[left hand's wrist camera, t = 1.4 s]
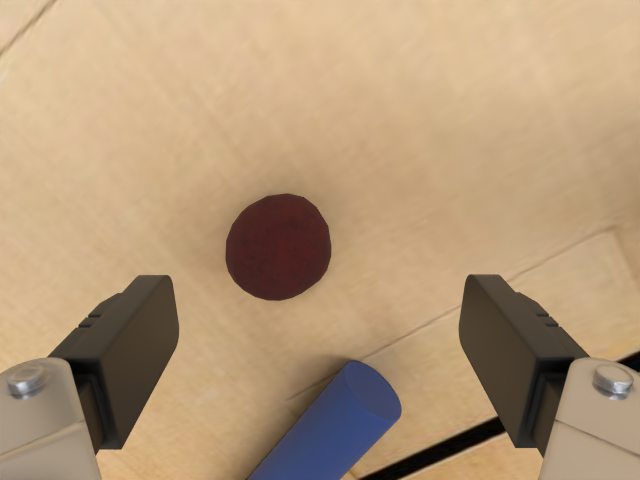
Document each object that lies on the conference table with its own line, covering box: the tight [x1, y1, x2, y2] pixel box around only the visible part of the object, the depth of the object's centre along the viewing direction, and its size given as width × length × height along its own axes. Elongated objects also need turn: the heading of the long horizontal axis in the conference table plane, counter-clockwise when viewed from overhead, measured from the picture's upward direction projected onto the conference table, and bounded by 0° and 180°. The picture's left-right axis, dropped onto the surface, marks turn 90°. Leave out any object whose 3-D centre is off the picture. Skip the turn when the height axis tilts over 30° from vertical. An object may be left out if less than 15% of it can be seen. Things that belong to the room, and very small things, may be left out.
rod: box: [247, 361, 401, 480], centre depth 38 cm, size 24×6×6 cm, turn 146°
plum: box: [226, 194, 331, 301], centre depth 29 cm, size 7×8×7 cm
